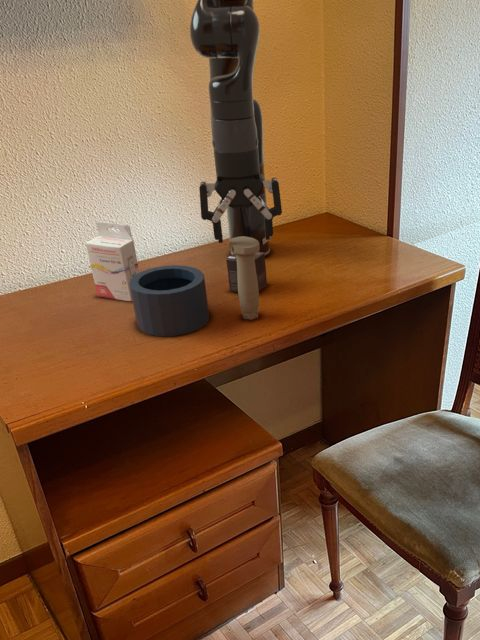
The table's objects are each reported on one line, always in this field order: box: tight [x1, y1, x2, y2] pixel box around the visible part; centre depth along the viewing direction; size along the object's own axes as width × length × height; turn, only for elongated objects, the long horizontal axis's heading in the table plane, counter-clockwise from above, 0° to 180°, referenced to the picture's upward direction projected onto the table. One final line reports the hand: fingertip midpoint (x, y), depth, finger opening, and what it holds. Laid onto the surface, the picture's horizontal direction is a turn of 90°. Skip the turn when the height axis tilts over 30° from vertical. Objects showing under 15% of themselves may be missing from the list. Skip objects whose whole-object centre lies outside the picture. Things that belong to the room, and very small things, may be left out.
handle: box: [228, 236, 260, 321], centre depth 125 cm, size 5×6×15 cm
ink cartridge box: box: [85, 221, 140, 302], centre depth 135 cm, size 9×5×15 cm, turn 71°
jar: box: [129, 264, 210, 337], centre depth 126 cm, size 14×14×8 cm
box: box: [225, 252, 268, 293], centre depth 139 cm, size 6×6×7 cm
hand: (244, 240), depth 120 cm, fingers open, 8 cm apart
